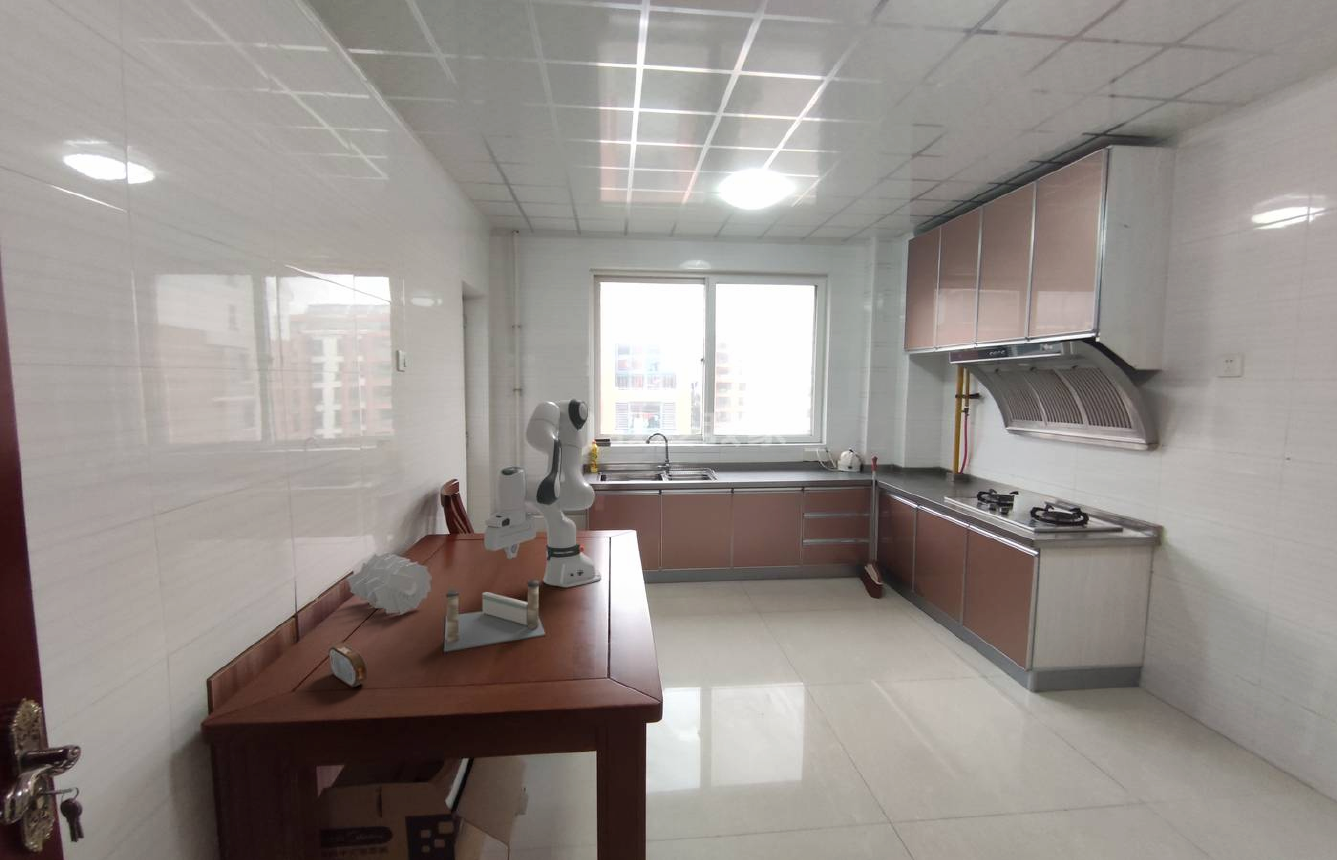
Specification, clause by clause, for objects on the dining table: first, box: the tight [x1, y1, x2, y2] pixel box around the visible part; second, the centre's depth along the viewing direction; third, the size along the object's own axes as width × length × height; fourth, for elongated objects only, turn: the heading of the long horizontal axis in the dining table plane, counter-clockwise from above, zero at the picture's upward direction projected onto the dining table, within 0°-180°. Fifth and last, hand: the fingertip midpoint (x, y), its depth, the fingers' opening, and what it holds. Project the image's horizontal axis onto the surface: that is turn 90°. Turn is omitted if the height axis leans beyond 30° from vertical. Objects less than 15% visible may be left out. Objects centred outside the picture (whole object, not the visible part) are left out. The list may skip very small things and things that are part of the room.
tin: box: [328, 641, 368, 688], centre depth 128 cm, size 15×3×8 cm, turn 56°
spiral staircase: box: [346, 551, 433, 616], centre depth 173 cm, size 18×18×25 cm
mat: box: [443, 610, 546, 653], centre depth 160 cm, size 28×24×1 cm
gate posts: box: [445, 579, 540, 643], centre depth 154 cm, size 26×4×15 cm, turn 113°
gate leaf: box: [481, 591, 528, 625], centre depth 164 cm, size 19×2×6 cm, turn 63°
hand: (511, 557), depth 170 cm, fingers closed
